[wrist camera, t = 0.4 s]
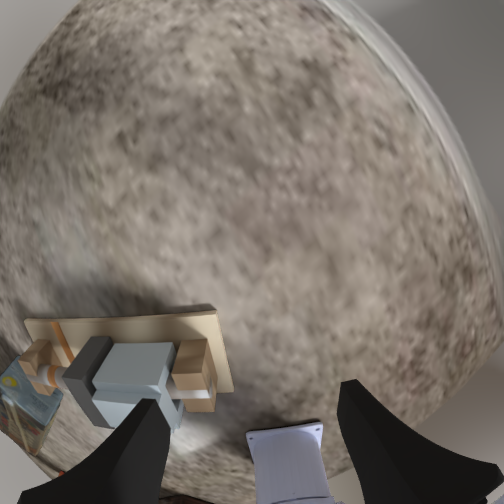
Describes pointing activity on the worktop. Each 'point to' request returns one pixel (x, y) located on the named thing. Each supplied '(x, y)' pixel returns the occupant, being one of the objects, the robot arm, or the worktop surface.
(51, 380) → the pipe stand
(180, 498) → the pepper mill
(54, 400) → the beverage carton
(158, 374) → the sleeve
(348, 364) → the worktop surface
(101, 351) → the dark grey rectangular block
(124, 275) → the worktop surface
